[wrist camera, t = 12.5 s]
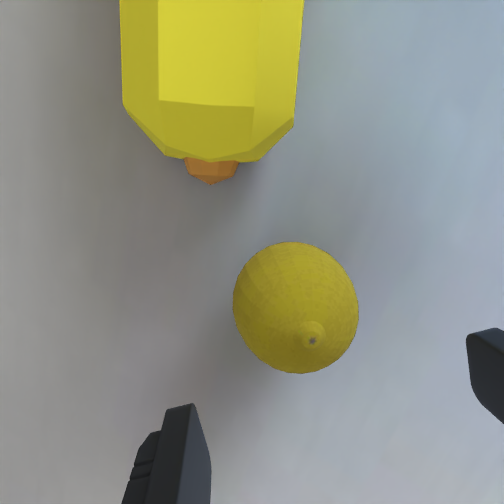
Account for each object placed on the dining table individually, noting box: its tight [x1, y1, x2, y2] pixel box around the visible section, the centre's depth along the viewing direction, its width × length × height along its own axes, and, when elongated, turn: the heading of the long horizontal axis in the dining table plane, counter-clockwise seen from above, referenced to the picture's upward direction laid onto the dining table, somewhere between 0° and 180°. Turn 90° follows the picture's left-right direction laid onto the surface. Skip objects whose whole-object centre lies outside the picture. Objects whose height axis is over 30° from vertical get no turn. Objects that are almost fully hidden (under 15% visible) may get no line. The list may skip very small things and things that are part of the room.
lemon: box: [233, 242, 359, 374], centre depth 17 cm, size 6×6×8 cm
